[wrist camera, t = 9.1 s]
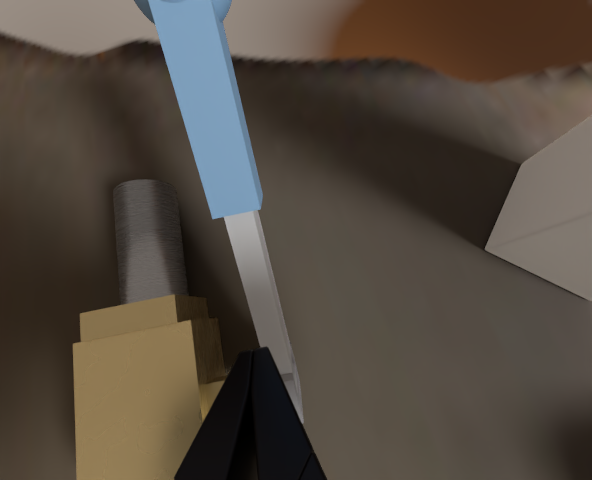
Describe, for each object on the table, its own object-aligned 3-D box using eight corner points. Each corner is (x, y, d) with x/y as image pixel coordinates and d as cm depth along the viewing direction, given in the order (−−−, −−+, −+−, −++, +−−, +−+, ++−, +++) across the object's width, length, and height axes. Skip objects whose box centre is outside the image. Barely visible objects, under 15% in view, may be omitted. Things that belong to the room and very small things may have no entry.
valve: (315, 631, 14) (317, 765, 10) (148, 664, 14) (81, 811, 10) (241, 185, 19) (222, 151, 15) (118, 210, 19) (64, 183, 15)
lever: (327, 424, 13) (205, -151, 7) (257, 438, 13) (74, -124, 7) (318, 372, 16) (225, -70, 10) (260, 383, 16) (132, -50, 10)
